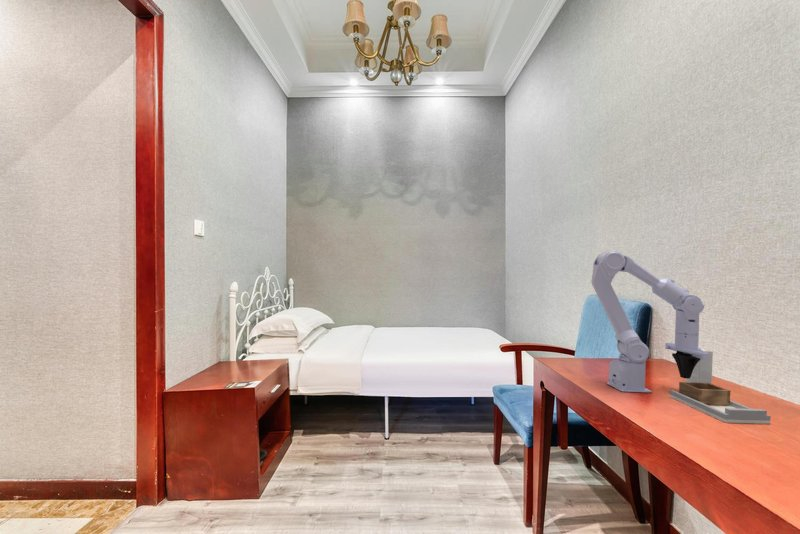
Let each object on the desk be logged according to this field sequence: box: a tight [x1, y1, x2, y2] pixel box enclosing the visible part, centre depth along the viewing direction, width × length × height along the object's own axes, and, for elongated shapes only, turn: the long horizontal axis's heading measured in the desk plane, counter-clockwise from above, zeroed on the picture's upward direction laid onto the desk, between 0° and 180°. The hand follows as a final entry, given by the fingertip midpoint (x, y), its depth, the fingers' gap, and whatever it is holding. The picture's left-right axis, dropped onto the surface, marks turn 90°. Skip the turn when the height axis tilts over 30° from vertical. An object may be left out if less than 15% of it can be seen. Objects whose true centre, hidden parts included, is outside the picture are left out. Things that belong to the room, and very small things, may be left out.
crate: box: [678, 381, 731, 405], centre depth 105 cm, size 9×7×4 cm
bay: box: [669, 389, 771, 425], centre depth 101 cm, size 12×18×3 cm, turn 2°
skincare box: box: [685, 347, 714, 384], centre depth 123 cm, size 6×4×12 cm
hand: (685, 377), depth 113 cm, fingers closed
